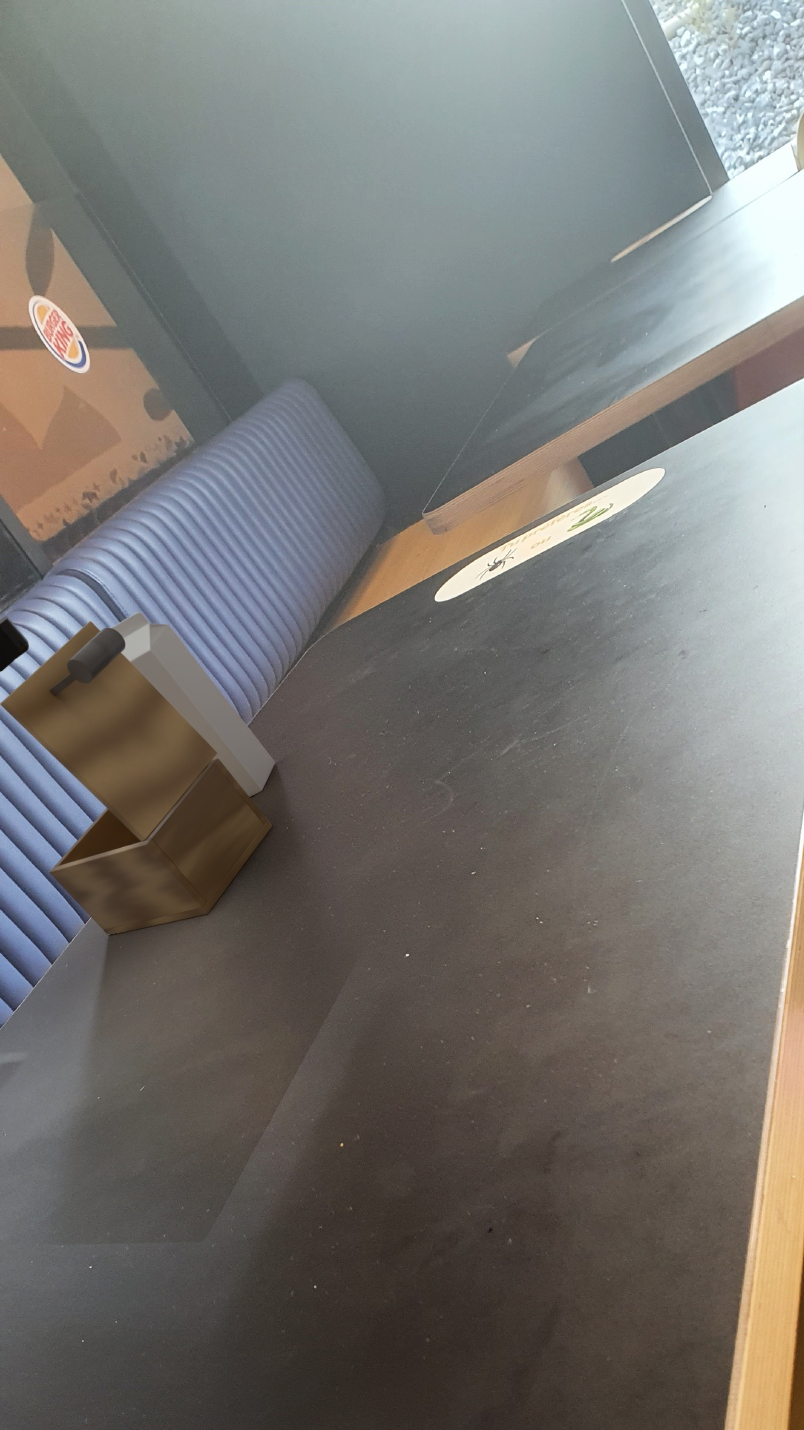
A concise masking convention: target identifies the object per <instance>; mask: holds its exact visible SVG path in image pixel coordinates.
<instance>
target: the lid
mask: <svg viewBox="0 0 804 1430" xmlns="http://www.w3.org/2000/svg"><path fill="white" fill-rule="evenodd" d="M124 649H125V640H124V638H123V637H122V635H121V634H120V633H119V632H118V631H116V630H115V629H113V628H112V627H109V626H108V627H104V628H102V629H101V630H100V628H98V627H97V626H96V625H95V624H94V623H93V622H92V620H89V621H88V622H87V623H86V624H85V625H83V627H82V628H80V629H79V630H78V631H77V632H76V633H75V634H73V636H72V637H71V638H69V640H68V641H66V643H64V644H63V645H62V646H61V647H60V648H58V650H57V651H55V652H54V653H53V654H52V655H51V656H50V657H49V658H48V659H47V660H46V661H44V662H43V664H42V665H40V666H39V667H38V668H37V669H36V670H35V671H34V672H33V673H31V674H30V675H29V676H28V677H27V678H26V679H25V680H24V681H23V682H21V684H20V685H18V687H16V688H15V689H14V690H13V691H12V692H11V693H10V694H9V695H8V696H6V698H5V699H3V700H2V701H1V702H0V706H1V707H2V708H3V710H5V711H6V713H8V714H9V715H10V716H11V717H12V718H13V719H14V720H15V721H17V723H18V724H19V725H20V726H21V727H23V729H24V730H26V732H28V733H29V734H30V735H31V736H32V737H33V739H35V741H37V742H38V743H39V744H40V745H41V746H42V747H43V748H44V749H45V750H46V751H47V752H49V754H50V755H51V756H53V757H54V759H56V760H57V762H58V763H60V764H61V766H63V768H65V769H66V770H67V771H68V772H69V773H70V774H71V775H72V776H73V777H74V778H75V779H76V780H77V781H78V782H79V783H80V784H81V785H83V786H84V788H85V789H86V790H87V791H88V792H90V793H91V795H93V796H94V797H95V799H97V801H99V802H100V803H101V804H102V805H103V806H104V807H105V809H106V808H107V809H108V810H110V811H111V812H112V813H113V814H114V815H115V816H116V817H117V818H118V819H119V820H120V821H121V822H122V823H123V824H124V825H125V826H126V827H127V828H128V829H129V830H130V831H131V832H132V833H133V834H134V835H135V836H136V837H137V838H138V839H139V840H141V841H143V840H145V839H146V838H147V837H148V836H149V835H150V834H151V832H152V831H153V830H154V829H155V828H156V826H157V825H158V824H159V823H160V822H161V820H162V819H163V818H164V817H165V816H166V814H167V813H168V812H169V811H170V810H171V808H172V807H173V806H174V805H175V804H176V802H177V801H178V800H179V799H180V798H181V796H182V795H183V794H184V793H185V792H186V790H187V789H188V788H189V787H190V786H191V784H192V783H193V782H194V781H195V780H196V778H197V777H198V776H199V775H200V774H201V772H202V771H203V770H204V769H205V768H206V766H207V765H208V764H209V763H210V762H211V760H212V759H213V758H214V757H215V756H216V754H217V752H216V751H215V750H214V749H213V748H212V747H211V746H210V745H209V744H208V743H207V741H206V740H205V739H204V738H203V737H202V736H201V735H200V734H199V733H198V732H197V731H196V730H195V729H194V728H193V727H192V726H191V725H190V724H189V723H188V722H187V721H186V720H185V719H184V718H183V716H182V715H181V714H180V713H179V712H178V711H177V710H176V709H175V708H174V707H173V706H172V705H171V704H170V703H169V702H168V701H167V700H166V699H165V698H164V697H163V696H162V695H161V694H160V693H159V691H158V690H157V689H156V688H155V687H154V686H153V685H152V684H151V683H150V682H149V681H148V680H147V679H146V678H145V677H144V676H143V675H142V674H141V673H140V672H139V671H138V670H137V669H136V668H135V666H134V665H133V664H132V663H131V662H130V661H129V660H128V659H127V658H126V657H125V656H124V655H123V654H122V653H121V652H122V651H123V650H124Z"/></svg>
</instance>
